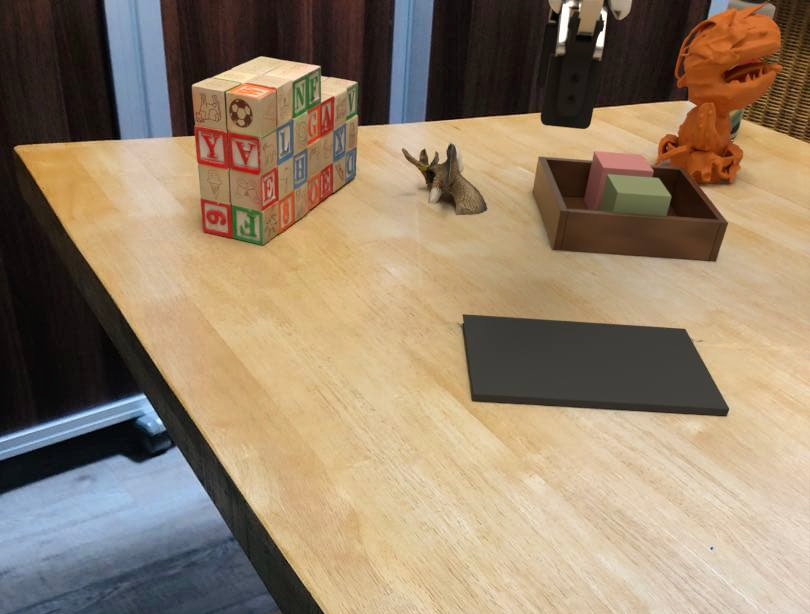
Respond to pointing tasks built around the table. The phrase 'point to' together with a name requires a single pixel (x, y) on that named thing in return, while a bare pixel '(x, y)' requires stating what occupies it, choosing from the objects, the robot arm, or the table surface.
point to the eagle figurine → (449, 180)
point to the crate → (626, 216)
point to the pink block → (615, 166)
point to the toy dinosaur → (720, 90)
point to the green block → (635, 195)
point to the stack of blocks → (271, 145)
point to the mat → (587, 365)
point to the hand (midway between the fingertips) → (560, 105)
